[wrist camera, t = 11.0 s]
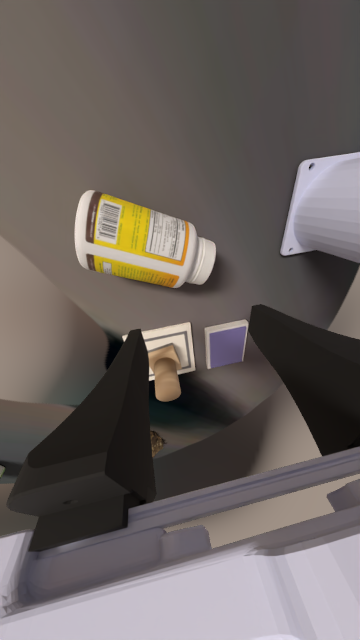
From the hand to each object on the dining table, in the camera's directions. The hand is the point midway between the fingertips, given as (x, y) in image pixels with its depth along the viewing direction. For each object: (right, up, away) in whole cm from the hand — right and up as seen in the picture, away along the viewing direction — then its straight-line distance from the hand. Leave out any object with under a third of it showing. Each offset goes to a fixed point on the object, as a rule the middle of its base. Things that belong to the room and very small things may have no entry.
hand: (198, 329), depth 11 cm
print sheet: (-4, -5, +15) cm, 16 cm away
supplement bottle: (-9, +7, +2) cm, 11 cm away
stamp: (-4, -5, +15) cm, 16 cm away
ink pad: (+6, -3, +16) cm, 17 cm away
